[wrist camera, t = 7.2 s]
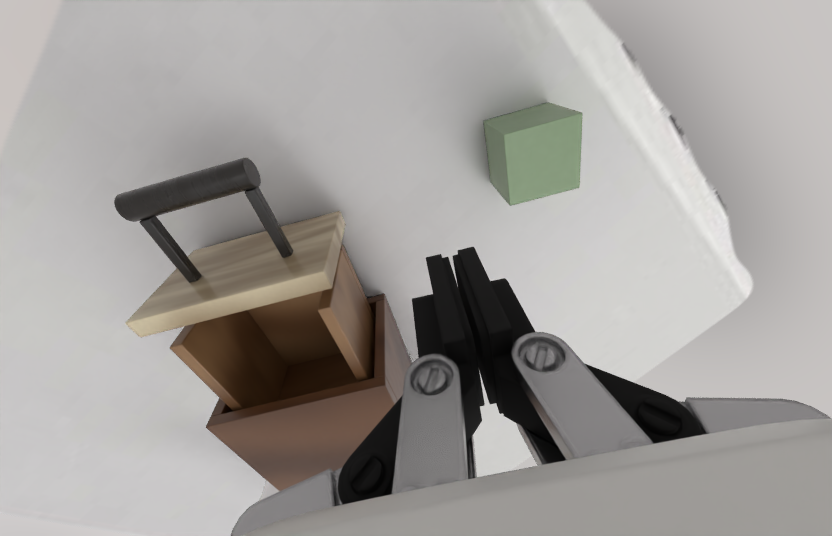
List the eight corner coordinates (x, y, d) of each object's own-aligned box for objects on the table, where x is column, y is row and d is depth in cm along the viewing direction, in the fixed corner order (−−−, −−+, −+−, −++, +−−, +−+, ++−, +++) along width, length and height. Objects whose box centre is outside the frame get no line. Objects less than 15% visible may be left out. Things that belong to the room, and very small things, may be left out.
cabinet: (252, 326, 30) (204, 427, 22) (384, 293, 29) (385, 385, 21) (317, 413, 38) (300, 510, 30) (422, 389, 37) (433, 482, 29)
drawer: (137, 176, 21) (27, 232, 14) (305, 127, 20) (268, 162, 14) (280, 364, 32) (253, 445, 25) (393, 337, 31) (395, 413, 24)
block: (483, 120, 22) (503, 134, 18) (548, 102, 21) (583, 112, 18) (490, 182, 24) (509, 206, 20) (549, 166, 24) (579, 187, 20)
